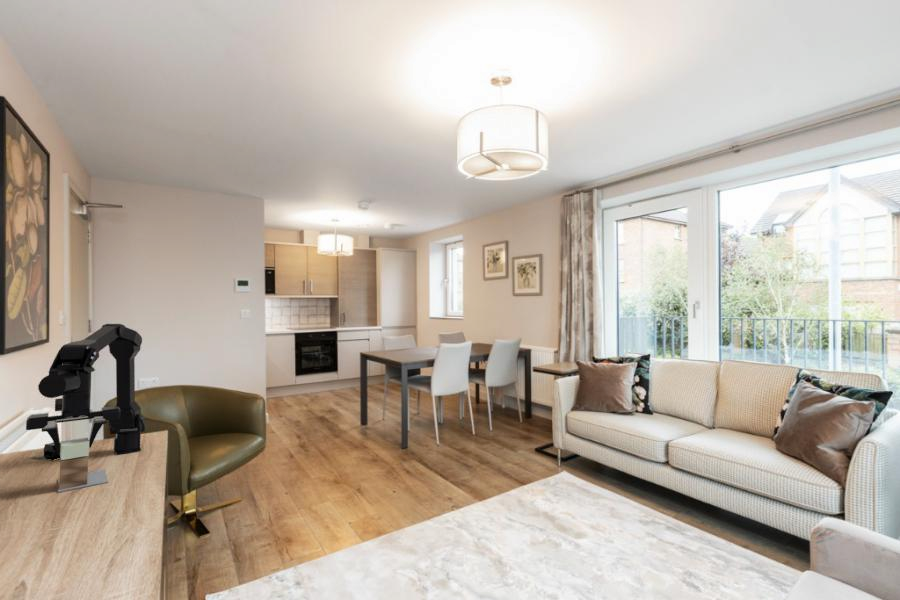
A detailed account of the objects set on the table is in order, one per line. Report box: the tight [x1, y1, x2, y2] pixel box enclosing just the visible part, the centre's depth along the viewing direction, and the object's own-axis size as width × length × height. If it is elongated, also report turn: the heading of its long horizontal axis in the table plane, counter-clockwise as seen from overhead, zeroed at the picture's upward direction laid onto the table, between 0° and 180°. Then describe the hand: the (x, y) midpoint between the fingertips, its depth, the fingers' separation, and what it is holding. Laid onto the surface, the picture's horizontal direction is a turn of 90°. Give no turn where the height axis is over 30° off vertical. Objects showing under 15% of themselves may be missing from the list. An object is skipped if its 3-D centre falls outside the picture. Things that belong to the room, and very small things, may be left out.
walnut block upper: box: [59, 456, 89, 477], centre depth 114 cm, size 6×6×4 cm
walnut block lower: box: [59, 470, 89, 490], centre depth 113 cm, size 6×6×4 cm
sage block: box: [60, 436, 90, 460], centre depth 114 cm, size 6×6×4 cm
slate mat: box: [57, 469, 109, 494], centre depth 116 cm, size 10×12×1 cm
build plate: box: [33, 442, 61, 461], centre depth 136 cm, size 12×7×5 cm, turn 75°
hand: (74, 449), depth 114 cm, fingers open, 6 cm apart
